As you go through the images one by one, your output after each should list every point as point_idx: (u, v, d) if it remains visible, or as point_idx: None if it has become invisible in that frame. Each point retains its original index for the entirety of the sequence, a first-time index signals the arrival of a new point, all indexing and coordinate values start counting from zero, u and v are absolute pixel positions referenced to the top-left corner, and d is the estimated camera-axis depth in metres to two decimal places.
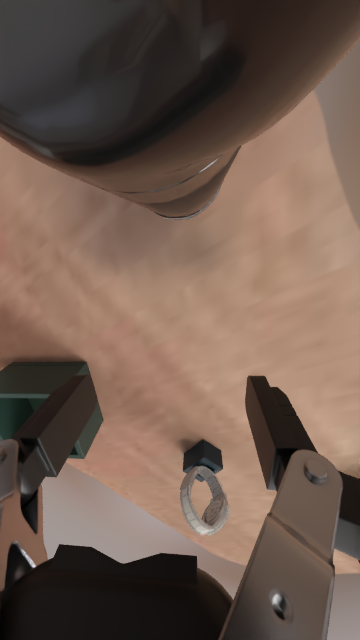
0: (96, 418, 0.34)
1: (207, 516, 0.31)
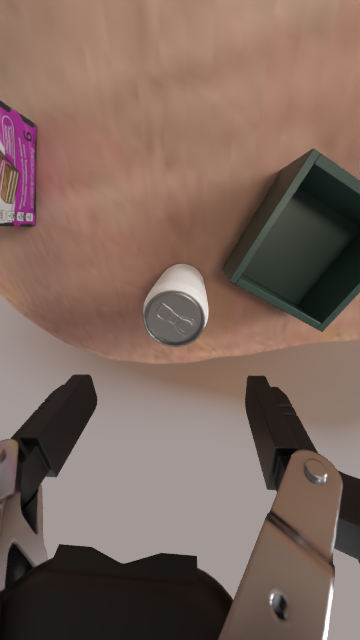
0: None
1: None
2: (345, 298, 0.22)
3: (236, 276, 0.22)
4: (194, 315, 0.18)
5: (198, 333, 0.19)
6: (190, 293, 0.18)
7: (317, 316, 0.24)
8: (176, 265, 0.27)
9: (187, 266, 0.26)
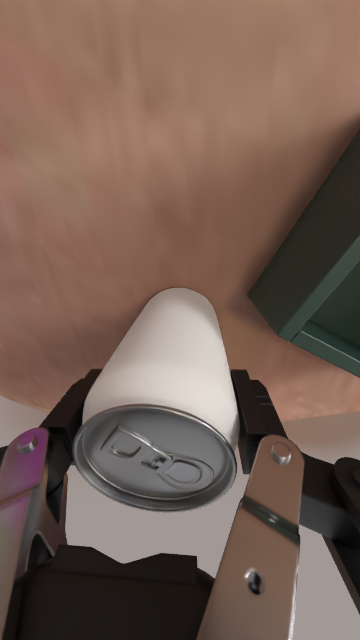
0: None
1: None
2: None
3: (294, 327, 0.10)
4: (207, 454, 0.07)
5: (217, 489, 0.07)
6: (196, 403, 0.06)
7: None
8: (169, 292, 0.15)
9: (188, 294, 0.15)
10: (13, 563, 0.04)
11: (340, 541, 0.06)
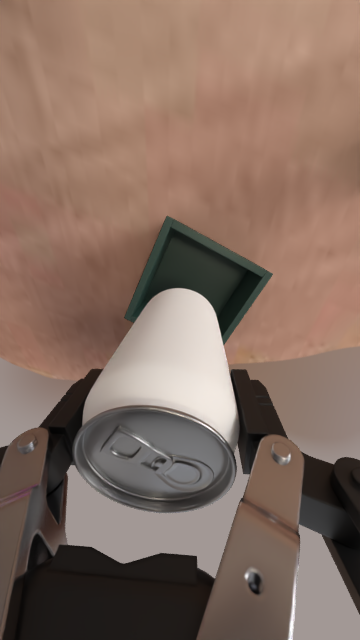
0: None
1: None
2: (225, 332, 0.25)
3: (129, 314, 0.25)
4: (206, 455, 0.07)
5: (216, 490, 0.08)
6: (196, 404, 0.06)
7: None
8: (169, 292, 0.15)
9: (188, 295, 0.15)
10: (13, 563, 0.04)
11: (340, 541, 0.06)
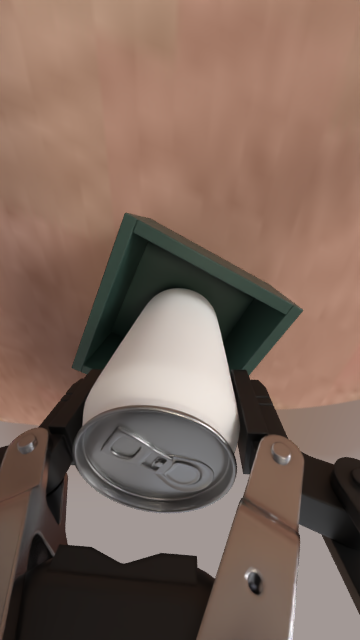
0: (252, 276, 0.18)
1: None
2: None
3: (78, 363, 0.16)
4: (207, 455, 0.07)
5: (217, 490, 0.08)
6: (196, 404, 0.06)
7: None
8: (169, 292, 0.15)
9: (188, 295, 0.15)
10: (13, 563, 0.04)
11: (340, 541, 0.06)
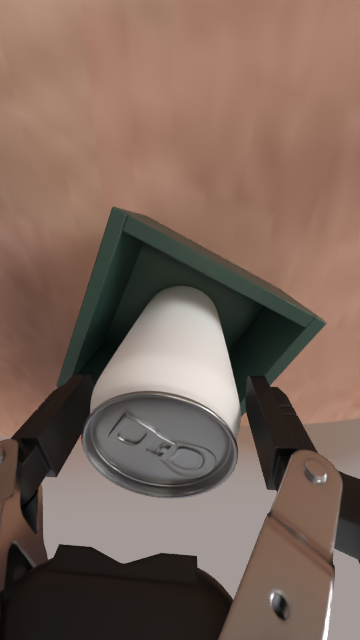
0: (262, 281, 0.16)
1: None
2: None
3: (64, 381, 0.14)
4: (209, 440, 0.07)
5: (219, 475, 0.08)
6: (199, 391, 0.07)
7: None
8: (171, 290, 0.15)
9: (190, 292, 0.15)
10: None
11: None
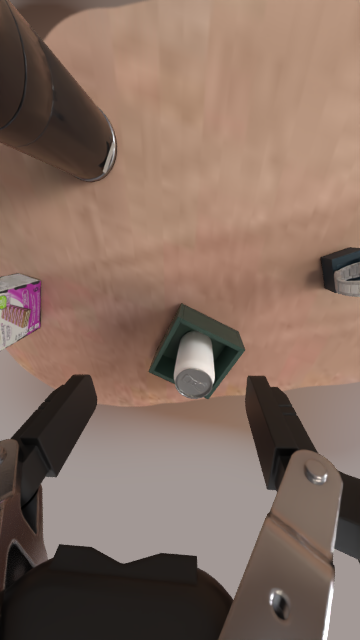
0: (229, 330, 0.39)
1: None
2: (215, 382, 0.37)
3: (152, 370, 0.38)
4: (206, 381, 0.30)
5: (208, 391, 0.31)
6: (203, 368, 0.30)
7: None
8: (192, 333, 0.39)
9: (200, 335, 0.38)
10: None
11: None
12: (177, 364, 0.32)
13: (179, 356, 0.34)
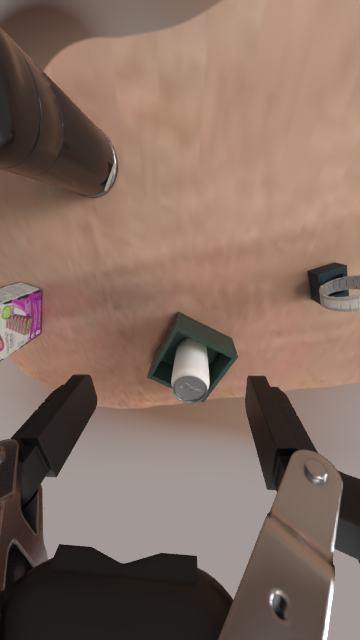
0: (223, 337, 0.41)
1: None
2: (210, 387, 0.40)
3: (150, 375, 0.40)
4: (201, 387, 0.33)
5: (203, 396, 0.33)
6: (199, 376, 0.32)
7: None
8: (188, 340, 0.41)
9: (195, 342, 0.40)
10: None
11: None
12: (174, 371, 0.34)
13: (176, 363, 0.36)
